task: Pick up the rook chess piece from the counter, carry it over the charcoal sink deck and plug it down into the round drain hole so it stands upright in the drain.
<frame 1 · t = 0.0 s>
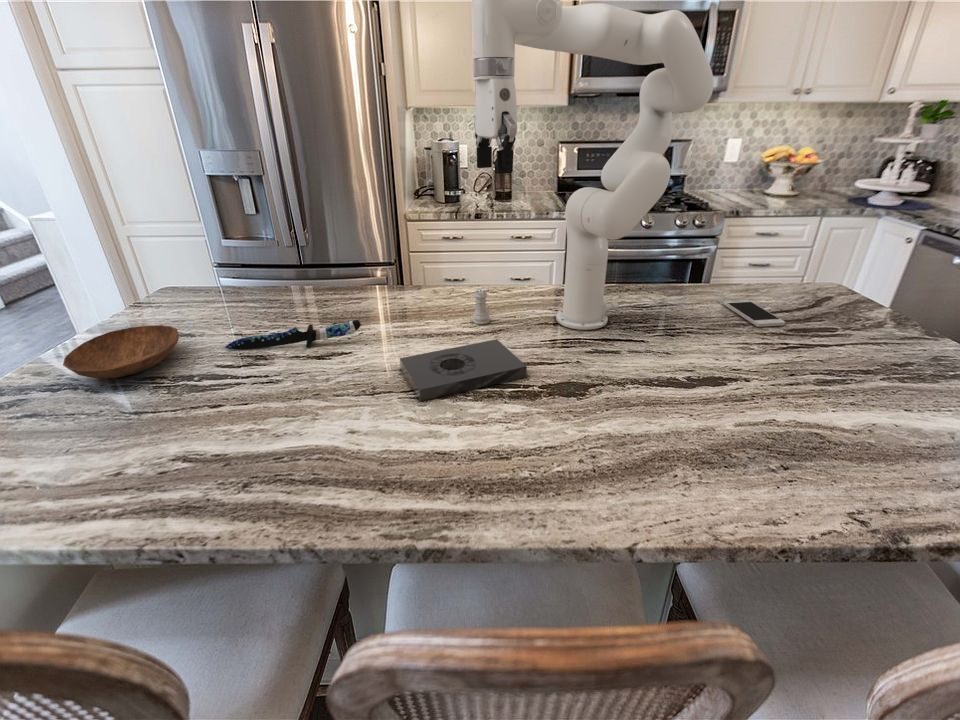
hand: (494, 170, 99), 37 cm above the kitchen island, tool pointing down, fingers open, 9 cm apart
sink deck: (462, 373, 101), on the kitchen island
knife: (296, 346, 114), on the kitchen island
rook chess piece: (481, 322, 125), on the kitchen island
bowl: (132, 367, 106), on the kitchen island
smartphone: (752, 314, 126), on the kitchen island
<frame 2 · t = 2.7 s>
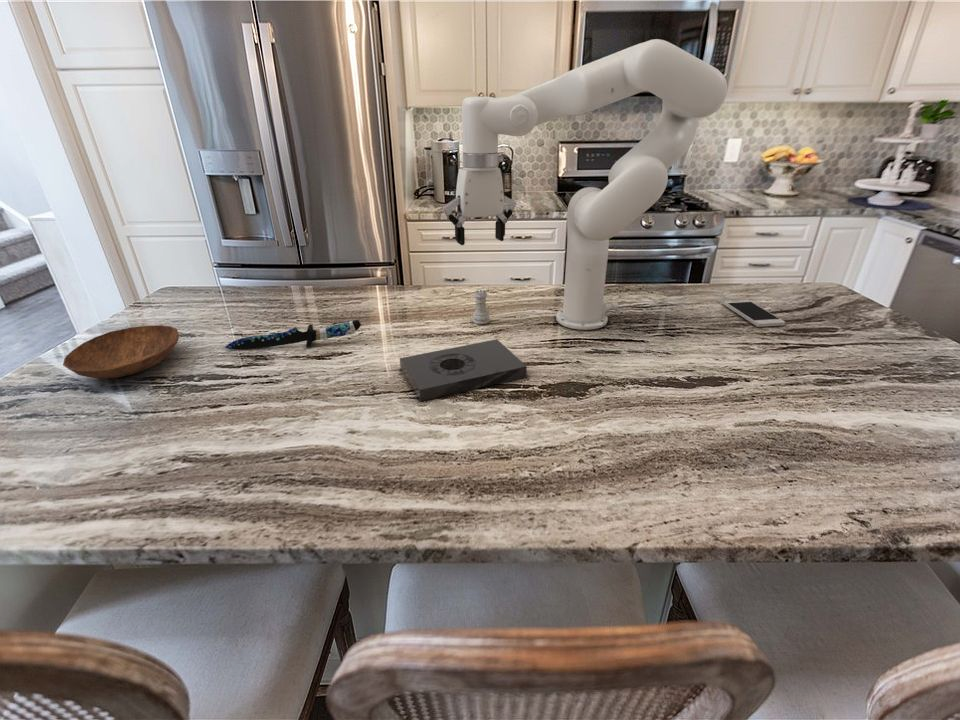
hand: (480, 241, 114), 20 cm above the kitchen island, tool pointing down, fingers open, 9 cm apart
nothing on the kitchen island moved.
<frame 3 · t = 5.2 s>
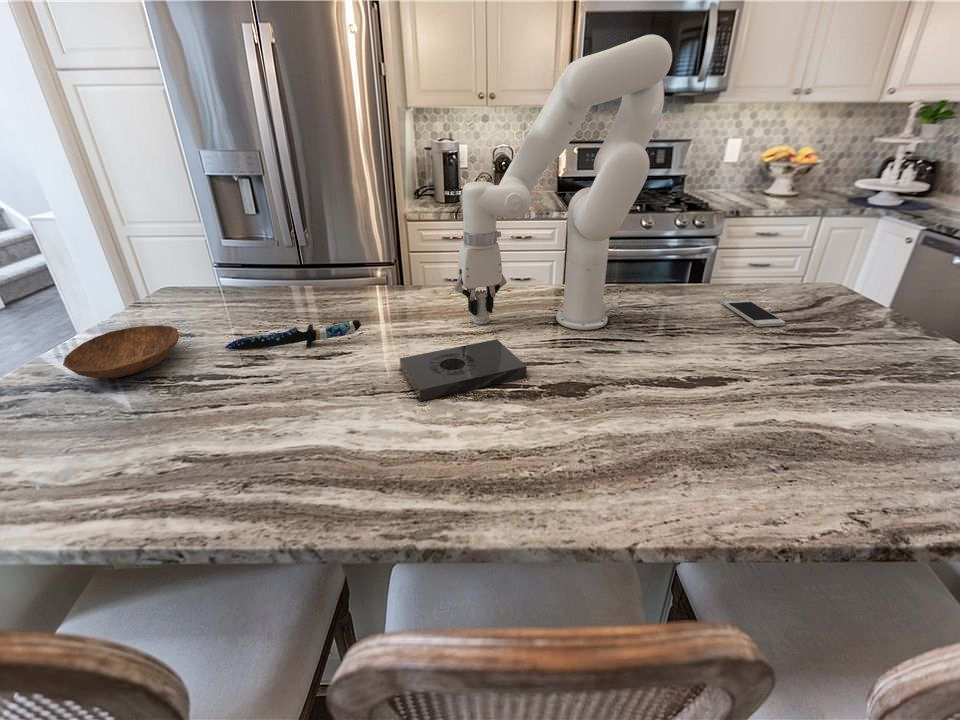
hand: (481, 311, 123), 3 cm above the kitchen island, tool pointing down, fingers closed on rook chess piece, 3 cm apart
rook chess piece: (481, 322, 125), on the kitchen island, touching gripper
everything else where it was.
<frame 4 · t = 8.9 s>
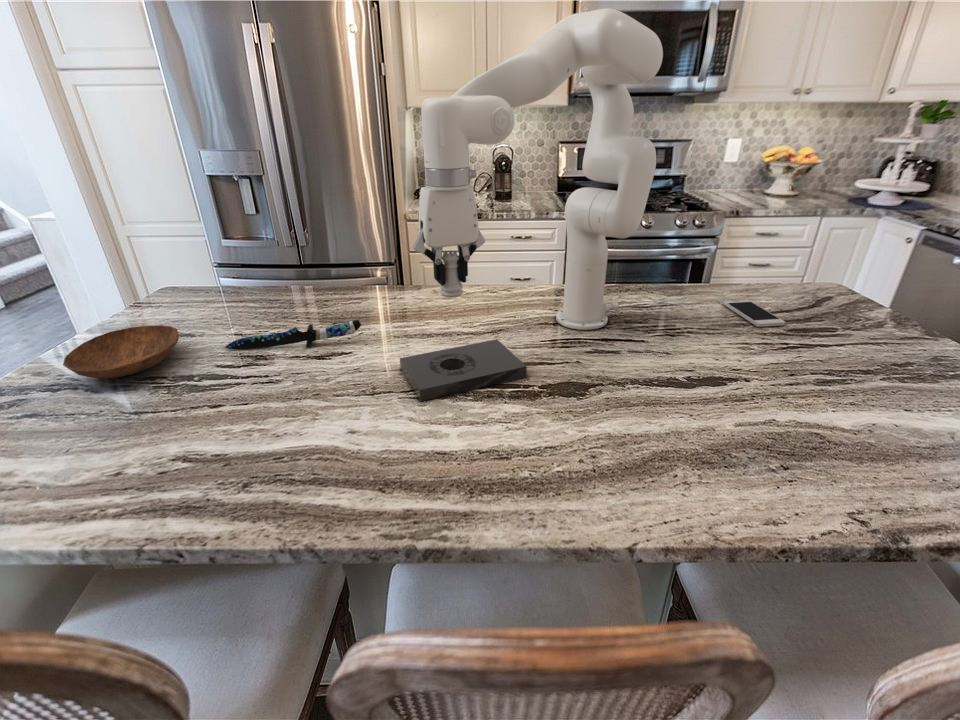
hand: (451, 280, 93), 19 cm above the kitchen island, tool pointing down, fingers closed on rook chess piece, 3 cm apart
rook chess piece: (451, 295, 95), point 16 cm above the kitchen island, touching gripper
everything else where it was.
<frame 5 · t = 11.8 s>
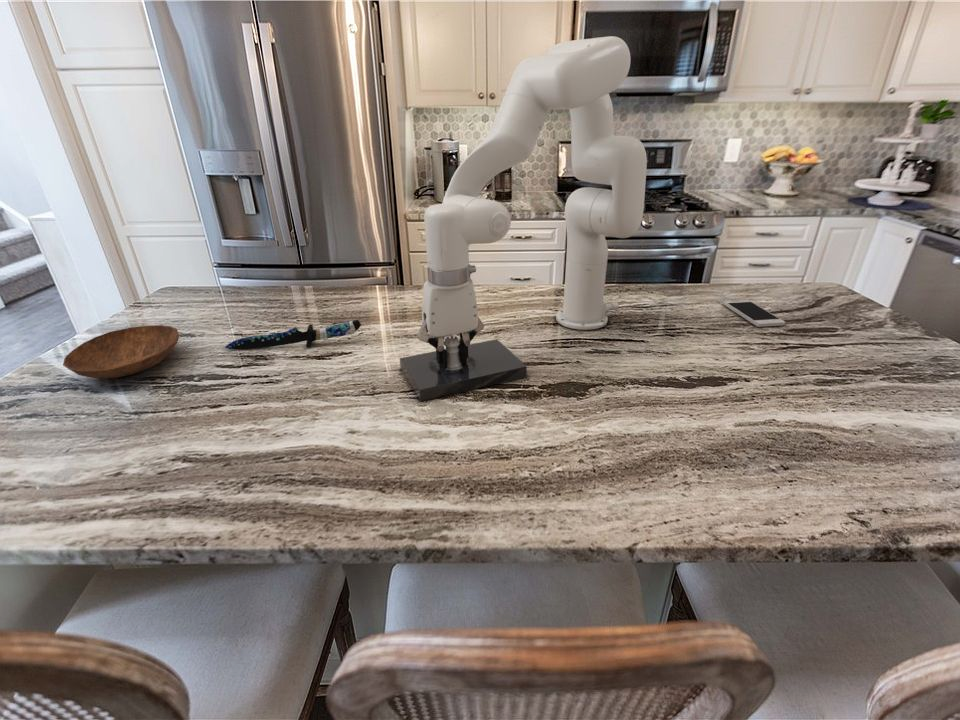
hand: (452, 363, 99), 3 cm above the kitchen island, tool pointing down, fingers closed on rook chess piece, 3 cm apart
rook chess piece: (453, 375, 100), resting in sink deck, touching gripper
everything else where it was.
when the fingers open (3 cm above the kitchen island, at t = 12.8 s): rook chess piece stays where it is, resting in sink deck.
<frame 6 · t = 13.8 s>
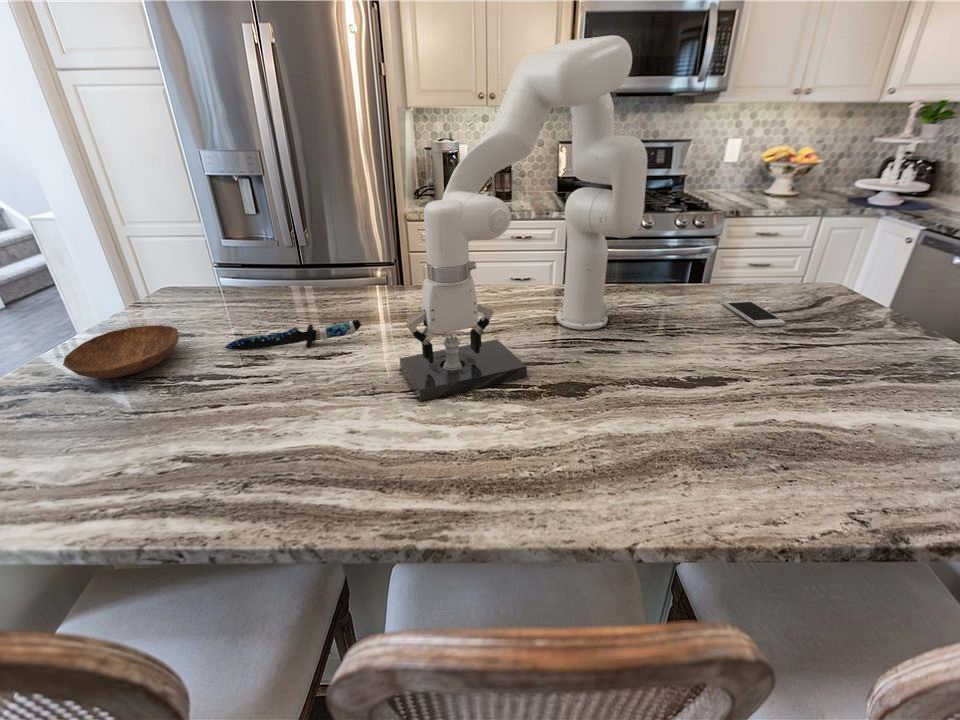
hand: (452, 355, 98), 4 cm above the kitchen island, tool pointing down, fingers open, 9 cm apart
rook chess piece: (453, 375, 100), resting in sink deck
everything else where it was.
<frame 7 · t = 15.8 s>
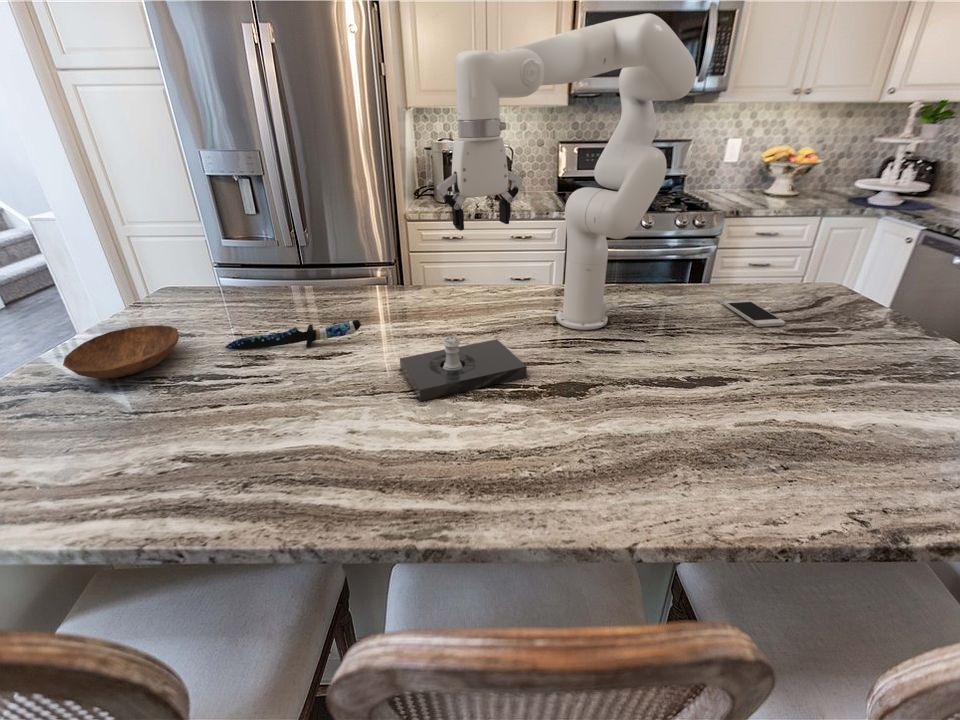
hand: (482, 225, 98), 27 cm above the kitchen island, tool pointing down, fingers open, 9 cm apart
nothing on the kitchen island moved.
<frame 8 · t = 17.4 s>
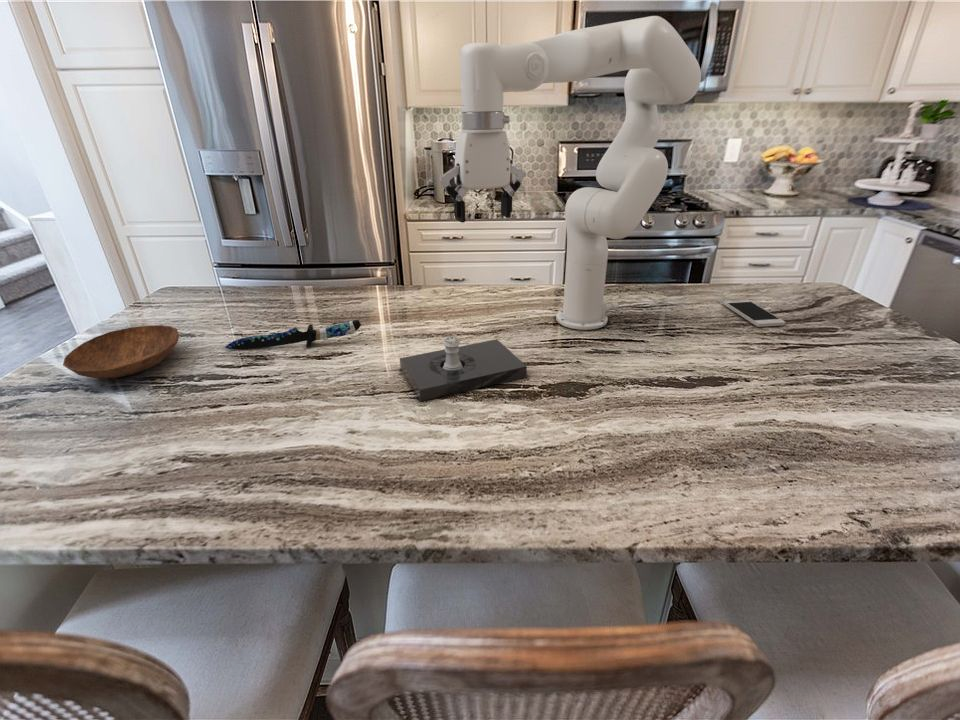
hand: (483, 218, 98), 28 cm above the kitchen island, tool pointing down, fingers open, 9 cm apart
nothing on the kitchen island moved.
at the end: rook chess piece 0.1 cm from the target spot in the sink deck, point 0.0 cm above the sink deck's base; rook chess piece tilted 0° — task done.
